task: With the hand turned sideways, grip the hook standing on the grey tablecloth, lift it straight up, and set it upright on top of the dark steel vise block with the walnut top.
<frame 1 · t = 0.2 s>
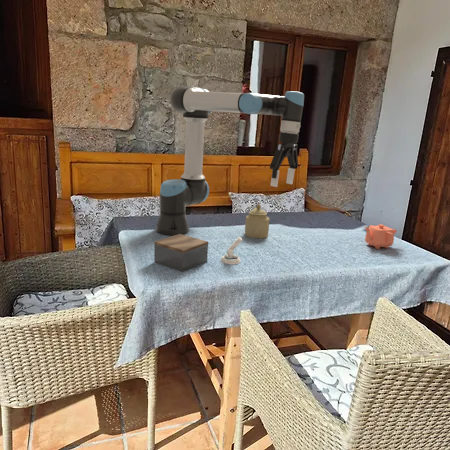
hand: (281, 185, 172), 27 cm above the table, tool pointing down, fingers open, 13 cm apart
vise block: (181, 261, 158), on the table
hook: (230, 261, 162), on the table
sugar bowl: (254, 234, 199), on the table
teapot: (377, 246, 190), on the table
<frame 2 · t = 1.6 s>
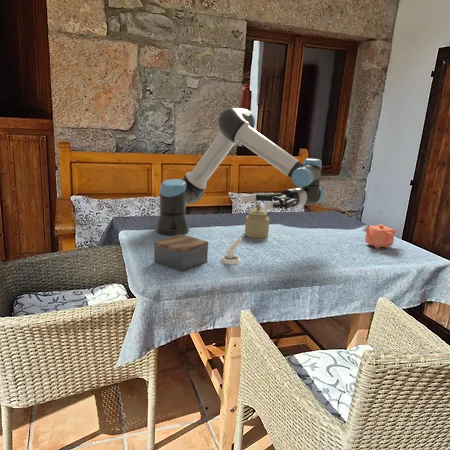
hand: (253, 202, 161), 22 cm above the table, tool horizontal, fingers open, 13 cm apart
nothing on the table moved.
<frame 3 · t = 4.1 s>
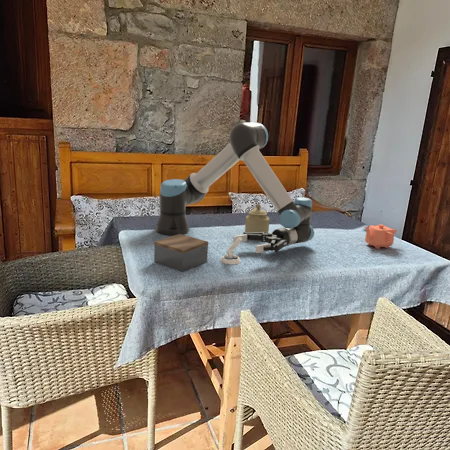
hand: (244, 244, 163), 6 cm above the table, tool horizontal, fingers open, 13 cm apart
nothing on the table moved.
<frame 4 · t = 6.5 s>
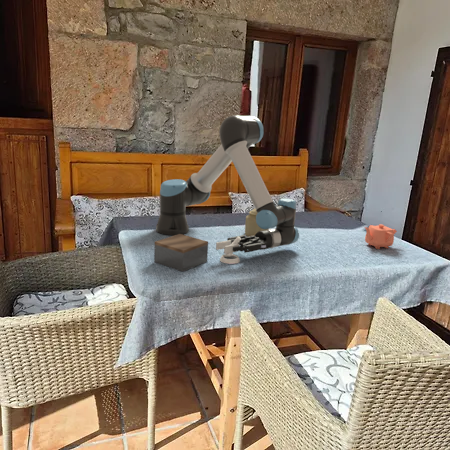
hand: (220, 248, 157), 6 cm above the table, tool horizontal, fingers closed on hook, 4 cm apart
hook: (229, 260, 162), on the table, touching gripper
everything else where it was.
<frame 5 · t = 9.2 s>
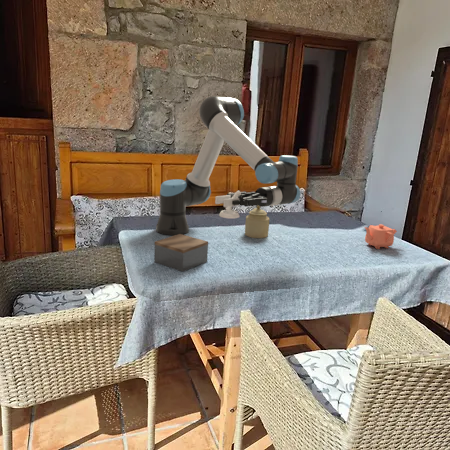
hand: (220, 201, 152), 24 cm above the table, tool horizontal, fingers closed on hook, 4 cm apart
hook: (229, 216, 157), point 18 cm above the table, touching gripper
everything else where it was.
when the fingers open (15 cm above the table, at t = 12.1 s): hook drops 1 cm, resting on vise block.
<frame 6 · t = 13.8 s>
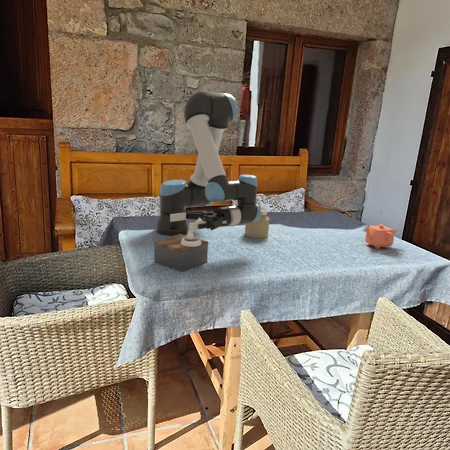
hand: (179, 222, 153), 16 cm above the table, tool horizontal, fingers open, 13 cm apart
hook: (191, 243, 154), point 8 cm above the table, touching vise block
everything else where it was.
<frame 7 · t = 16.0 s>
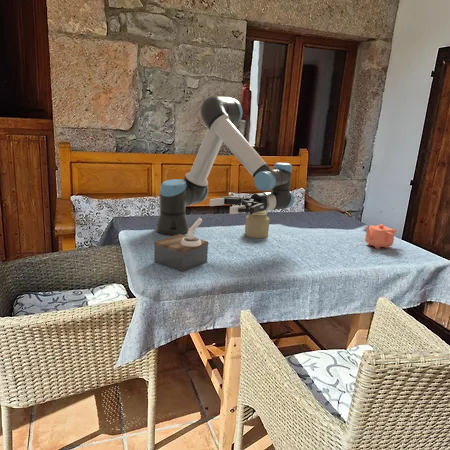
hand: (219, 206, 160), 20 cm above the table, tool horizontal, fingers open, 13 cm apart
nothing on the table moved.
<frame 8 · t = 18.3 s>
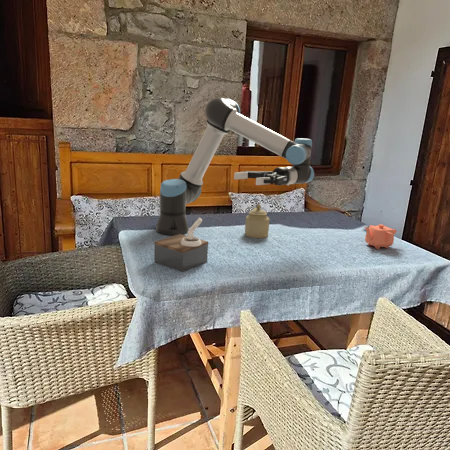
hand: (245, 178, 166), 30 cm above the table, tool horizontal, fingers open, 13 cm apart
nothing on the table moved.
at the end: hook inside the target area on the vise block (3.9 cm from its centre), point 7.8 cm above the vise block's base; hook tilted 2°; the gripper is holding nothing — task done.
